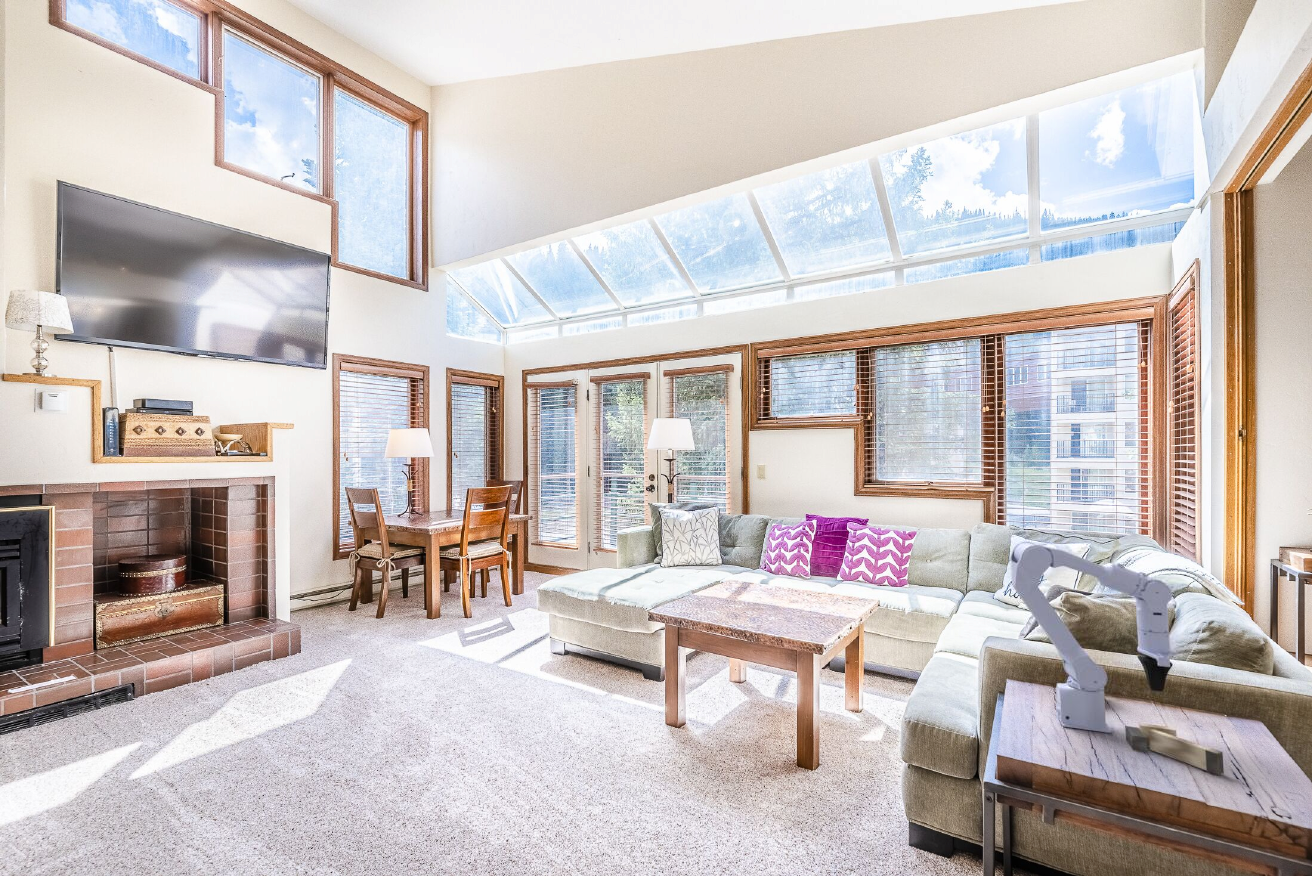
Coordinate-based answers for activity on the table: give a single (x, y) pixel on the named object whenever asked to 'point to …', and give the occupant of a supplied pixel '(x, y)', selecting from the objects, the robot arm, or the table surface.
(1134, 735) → the tong pivot
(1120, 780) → the table surface
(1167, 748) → the bar
